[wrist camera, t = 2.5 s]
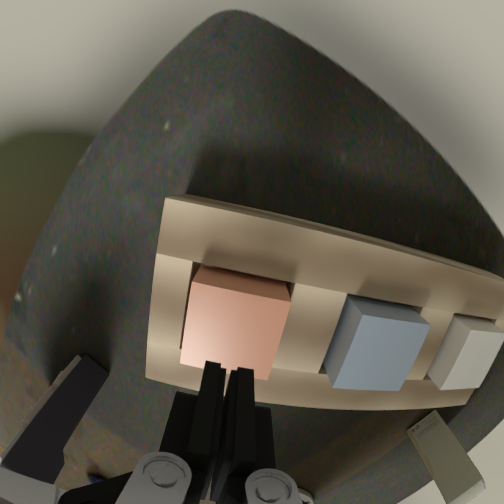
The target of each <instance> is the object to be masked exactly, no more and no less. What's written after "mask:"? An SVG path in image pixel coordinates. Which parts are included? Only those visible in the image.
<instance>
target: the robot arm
mask: <svg viewBox="0 0 504 504" xmlns="http://www.w3.org/2000/svg"><path fill="white" fill-rule="evenodd" d="M225 379H226V368H221V363H216V362H211V361H207V360H206V361H205V366H204V371H203V375H202V380H201V385H200V390H199V394H198V396H196V395H192V394H187V393H183V392H178V391H177V392H176V395H175V398H174V401H173V405H172V408H171V411H170V415H169V418H168V422H167V425H166V428H165V432H164V435H163V439H162V442H161V446H160V449H159V452H154V453H149V454H147V455H146V456H144V457H143V458H142V459H141V460H140V461H139V462H138V464H137V466H136V468H135V469H134V471H132V472H129V473H126V474H123V475H120V476H117V477H114V478H111V479H107V480H104V481H101V482H97V483H94V484H90V485H87V486H83V487H79V488H75V489H71V490H69V491H67V490H63V489H59V488H58V487H57V486H56V485H52V484H49V483H45V482H42V481H39V480H36V479H33V478H30V477H27V476H24V475H21V474H18V473H16V472H13V471H10V470H8V469H5V468H1V467H0V504H199V502H200V499H202V500H205V498H206V494H207V491H208V487H209V484H210V481H211V477H212V483H211V493H210V501H215V502H216V504H313V498H312V496H311V494H310V493H308V492H307V491H305V490H303V489H300V488H298V487H297V485H296V483H295V481H294V480H293V479H292V478H291V477H290V476H289V475H288V474H286V473H284V472H283V471H280V470H277V469H276V467H275V455H274V443H273V431H272V419H271V410H270V408H267V407H259V406H255V390H254V369H249V368H243V367H238V368H237V370H231V372H230V376H229V380H228V384H227V388H226V392H225V396H224V389H225ZM223 398H224V401H223Z"/></svg>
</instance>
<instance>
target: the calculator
mask: <svg viewBox="0 0 504 504" xmlns="http://www.w3.org/2000/svg"><path fill="white" fill-rule="evenodd" d="M108 376H109V373H108V372H107V371H105V370H104V369H103V368H102V367H101V366H100V365H98V364H97V363H96V362H95V361H94V360H93V359H92V358H90V357H89V356H88V355H87V354H85V355H84V356H83V358H81V357H80V356H79V355H77V356H76V357H75V358H74V359H73V360H72V361H71V363H70V364H69V365H68V366H67V367H66V368H65V369H64V371H61V372H60V373H59V375H58V376H57V378H56V379H55V381H54V382H53V384H52V386H50V387H49V388H48V390H47V391H46V392H45V393H44V394H43V396H42V397H41V398H40V399H39V400H38V402H36V403H35V404H33V405H32V406H31V408H30V410H29V411H28V413H27V414H26V415H25V417H24V418H23V421H22V423H21V425H20V427H19V429H18V431H17V433H16V434H15V435H14V437H13V438H12V439H11V441H10V442H9V444H8V445H7V446H6V448H5V449H4V450H3V452H2V453H1V455H0V467H1V468H5V469H8V470H10V471H13V472H16V473H18V474H21V475H24V476H27V477H30V478H33V479H36V480H39V481H42V482H45V483H49V484H52V485H53V484H54V482H55V480H56V478H57V477H58V475H59V473H60V471H61V469H62V467H63V465H64V455H63V448H64V446H65V445H66V443H67V441H68V440H69V438H70V436H71V435H72V433H73V431H74V430H75V428H76V426H77V425H78V423H79V422H80V420H81V418H82V417H83V415H84V414H85V412H86V410H87V409H88V407H89V406H90V404H91V402H92V401H93V399H94V398H95V396H96V395H97V393H98V391H99V390H100V388H101V387H102V385H103V384H104V382H105V381H106V379H107V378H108Z"/></svg>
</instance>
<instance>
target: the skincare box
mask: <svg viewBox="0 0 504 504" xmlns="http://www.w3.org/2000/svg"><path fill="white" fill-rule="evenodd" d="M407 433H408V435H409V437H410V438H411V440H412V442H413V444H414V445H415V447H416V449H417V451H418V452H419V454H420V456H421V457H422V459H423V461H424V463H425V464H426V466H427V468H428V470H429V472H430V473H431V475H432V477H433V479H434V481H435V482H436V485H437V486H438V488H439V490H440V492H441V494H442V496H443V498H444V500H445V502H446V504H466V503H467V502H468V501H470V500H471V499H473V498H474V497H476V496H477V495H478V494H479V493H481V492H482V491H484V490H485V489H486V486H485V482H484V479H483V477H482V476H481V474H480V472H479V471H478V469H477V468H476V467H475V465H474V464H473V462H472V461H471V459H470V458H469V456H468V455H467V453H466V452H465V450H464V449H463V447H462V446H461V445H460V443H459V442H458V440H457V439H456V437H455V436H454V435H453V433H452V432H451V430H450V429H449V428H448V426H447V425H446V423H445V422H444V421H443V419H442V418H441V417H440V415H439V414H438V412H437V411H436V410H434V411H432V412H431V413H430V414H428V415H427V416H426V417H424V418H423V419H422V420H420V421H419V422H418V423H416V424H415V425H414V426H412V427H411V428H410V429H408V430H407Z"/></svg>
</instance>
